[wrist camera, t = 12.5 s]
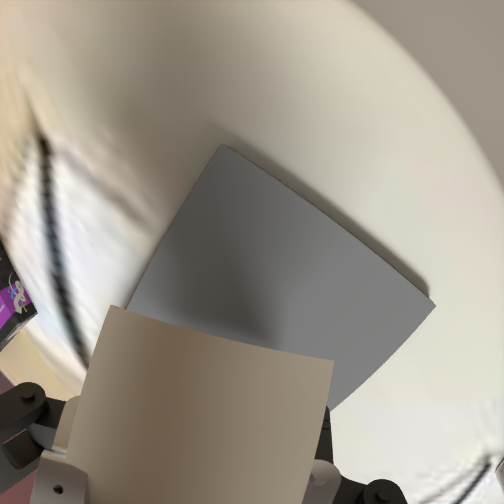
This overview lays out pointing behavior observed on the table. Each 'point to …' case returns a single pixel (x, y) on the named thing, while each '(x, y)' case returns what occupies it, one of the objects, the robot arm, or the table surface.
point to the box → (12, 302)
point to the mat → (278, 276)
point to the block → (195, 417)
